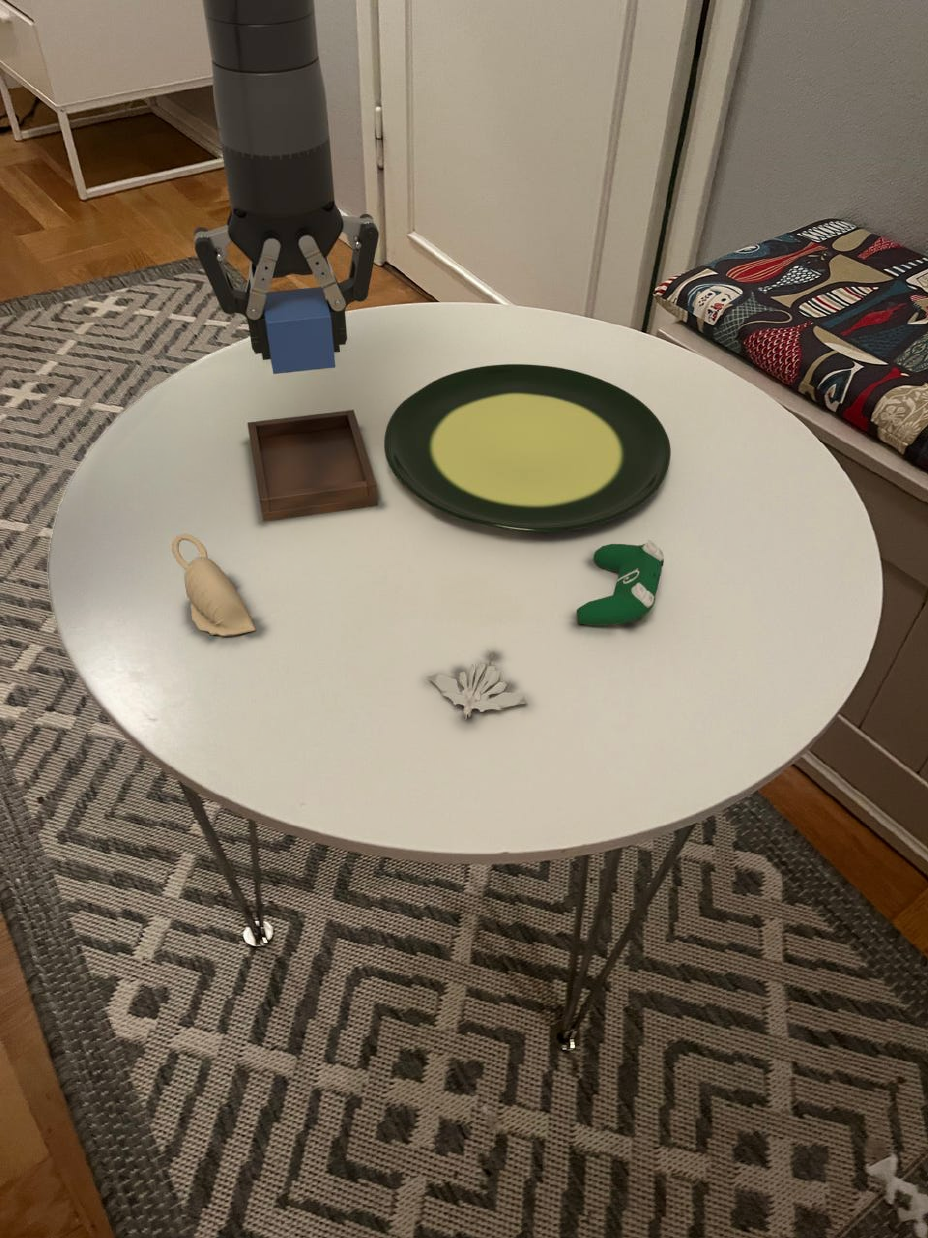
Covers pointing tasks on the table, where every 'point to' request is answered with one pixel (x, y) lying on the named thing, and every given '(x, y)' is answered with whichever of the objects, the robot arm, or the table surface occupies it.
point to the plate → (527, 448)
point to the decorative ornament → (212, 594)
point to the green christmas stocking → (625, 584)
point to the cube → (299, 330)
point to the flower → (477, 690)
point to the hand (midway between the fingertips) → (300, 350)
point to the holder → (311, 465)
